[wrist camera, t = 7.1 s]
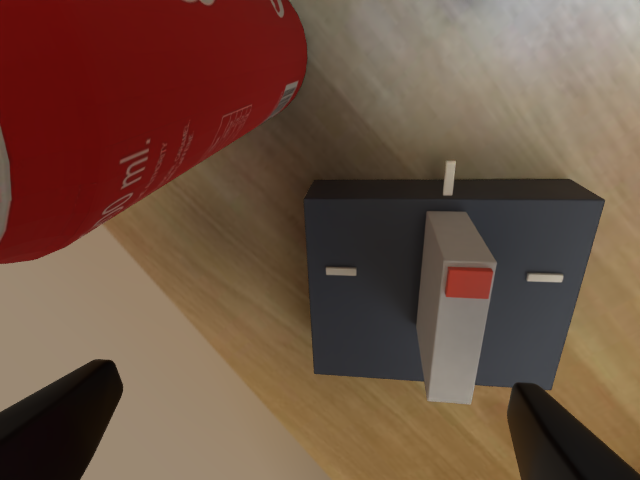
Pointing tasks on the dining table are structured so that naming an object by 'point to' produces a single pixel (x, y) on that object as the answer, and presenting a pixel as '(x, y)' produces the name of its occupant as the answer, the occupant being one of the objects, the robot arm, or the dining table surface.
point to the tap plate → (406, 262)
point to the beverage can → (127, 102)
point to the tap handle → (452, 305)
